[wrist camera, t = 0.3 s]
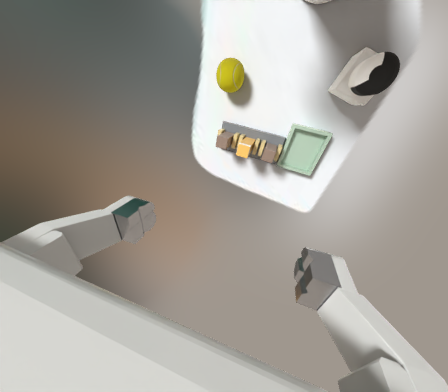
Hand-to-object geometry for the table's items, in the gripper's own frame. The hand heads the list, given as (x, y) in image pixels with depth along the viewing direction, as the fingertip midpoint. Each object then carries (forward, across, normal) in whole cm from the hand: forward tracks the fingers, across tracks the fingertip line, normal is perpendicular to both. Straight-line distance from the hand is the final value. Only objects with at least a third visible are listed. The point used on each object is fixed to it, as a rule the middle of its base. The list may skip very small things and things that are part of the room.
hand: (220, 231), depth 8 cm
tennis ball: (+46, +12, -11) cm, 49 cm away
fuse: (+45, +5, +5) cm, 45 cm away
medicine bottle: (+46, -16, -12) cm, 50 cm away
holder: (+46, +5, +5) cm, 46 cm away
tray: (+46, -10, +5) cm, 47 cm away
